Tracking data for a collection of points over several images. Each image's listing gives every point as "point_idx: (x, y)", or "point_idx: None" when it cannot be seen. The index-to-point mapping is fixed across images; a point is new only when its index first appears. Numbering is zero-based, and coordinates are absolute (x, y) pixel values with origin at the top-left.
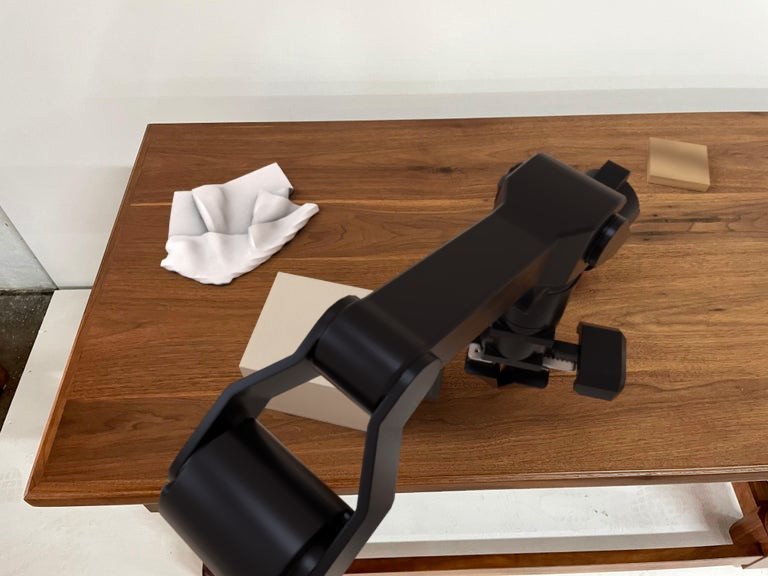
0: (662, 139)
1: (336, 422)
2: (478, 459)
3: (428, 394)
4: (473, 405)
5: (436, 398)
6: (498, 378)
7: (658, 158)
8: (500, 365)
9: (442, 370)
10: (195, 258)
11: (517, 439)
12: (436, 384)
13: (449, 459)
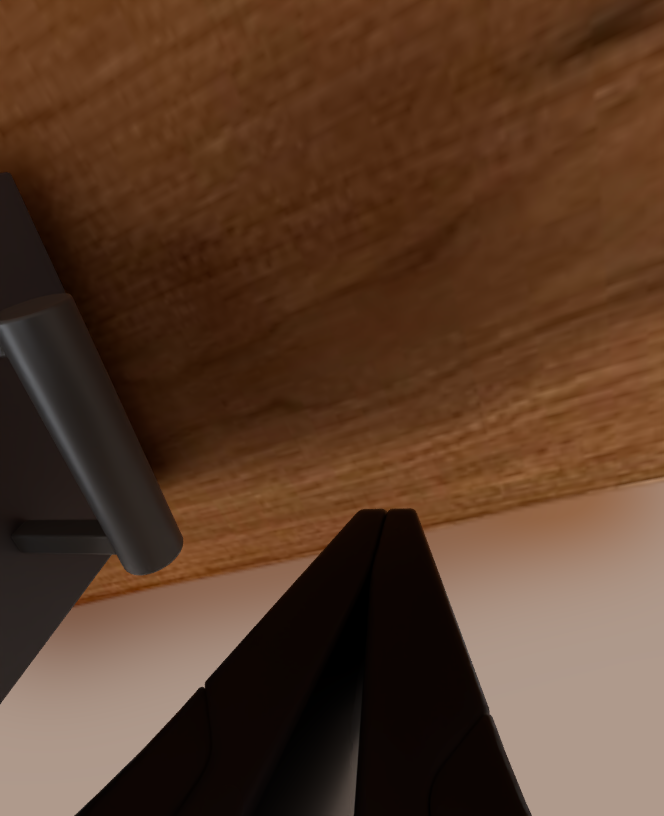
0: None
1: None
2: (439, 485)
3: (126, 570)
4: (365, 318)
5: (168, 563)
6: (350, 811)
7: None
8: (333, 690)
9: (109, 453)
10: None
11: (567, 392)
12: (126, 529)
13: (354, 503)
